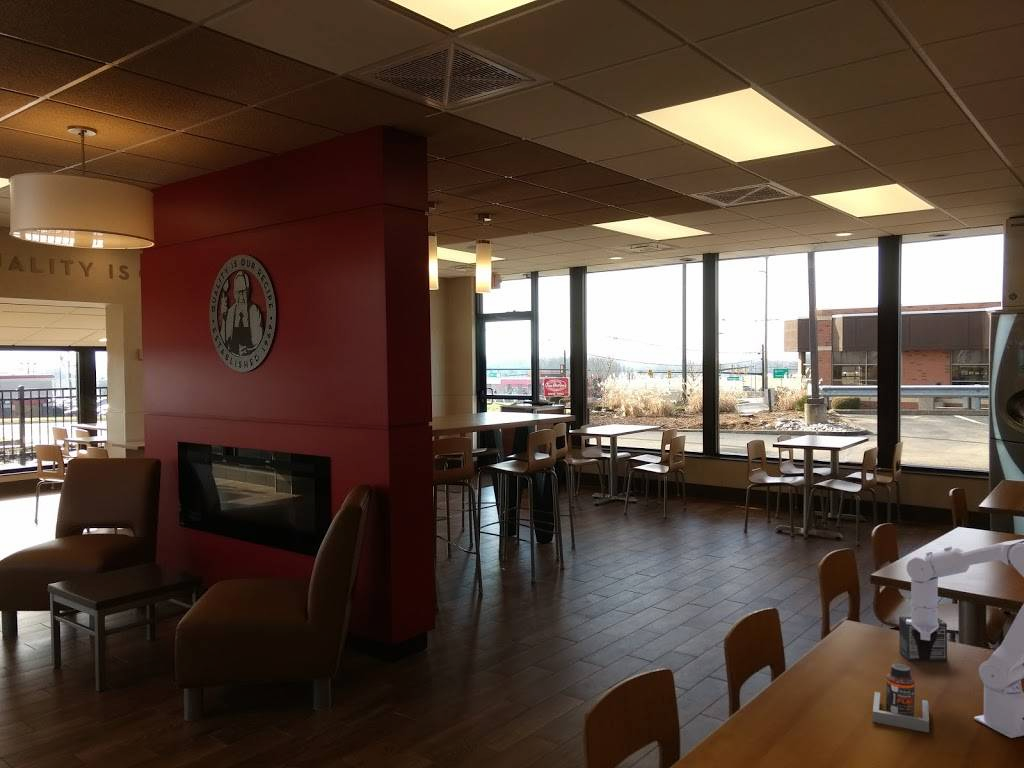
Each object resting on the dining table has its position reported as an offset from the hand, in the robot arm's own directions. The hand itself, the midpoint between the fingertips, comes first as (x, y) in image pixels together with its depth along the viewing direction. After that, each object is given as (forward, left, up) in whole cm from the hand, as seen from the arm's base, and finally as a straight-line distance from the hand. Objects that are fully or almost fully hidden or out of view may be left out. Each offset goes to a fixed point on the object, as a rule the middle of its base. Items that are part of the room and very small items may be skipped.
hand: (924, 659), depth 188 cm
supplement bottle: (-5, +13, -10) cm, 17 cm away
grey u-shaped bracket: (-6, +13, -9) cm, 17 cm away
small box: (+19, -19, -10) cm, 29 cm away
